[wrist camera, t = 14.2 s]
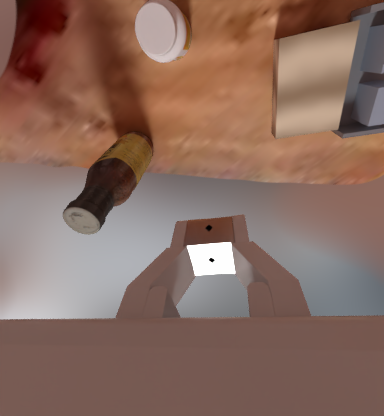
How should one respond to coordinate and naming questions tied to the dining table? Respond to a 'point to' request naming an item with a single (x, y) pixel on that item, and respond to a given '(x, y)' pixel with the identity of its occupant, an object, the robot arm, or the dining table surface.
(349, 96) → the tray
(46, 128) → the dining table surface
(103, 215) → the sauce bottle
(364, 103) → the tile
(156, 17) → the supplement bottle
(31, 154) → the dining table surface
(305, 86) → the board
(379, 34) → the tile
